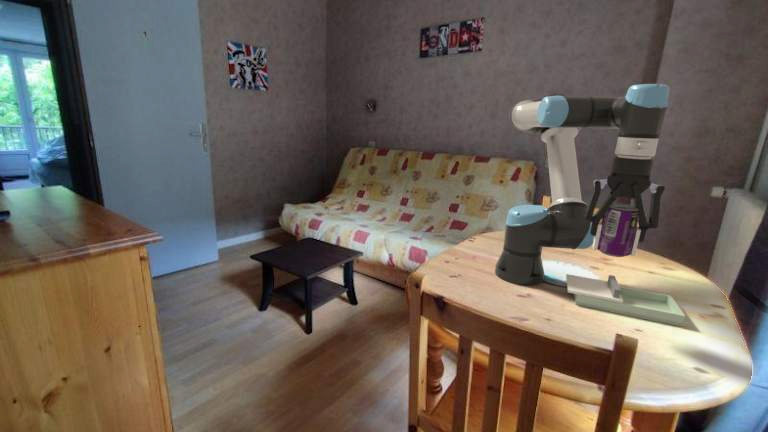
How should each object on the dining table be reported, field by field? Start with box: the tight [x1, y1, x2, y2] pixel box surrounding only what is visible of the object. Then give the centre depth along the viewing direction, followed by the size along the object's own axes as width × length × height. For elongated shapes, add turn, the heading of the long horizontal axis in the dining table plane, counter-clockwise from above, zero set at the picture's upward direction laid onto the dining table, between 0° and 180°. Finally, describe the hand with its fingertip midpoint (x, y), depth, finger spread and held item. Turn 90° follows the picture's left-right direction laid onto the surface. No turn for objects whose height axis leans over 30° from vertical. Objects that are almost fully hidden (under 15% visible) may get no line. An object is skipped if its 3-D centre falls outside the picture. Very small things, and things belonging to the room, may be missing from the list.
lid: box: [565, 273, 623, 303], centre depth 99 cm, size 13×12×3 cm
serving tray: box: [573, 285, 686, 328], centre depth 96 cm, size 24×12×3 cm, turn 65°
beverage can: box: [597, 202, 639, 258], centre depth 83 cm, size 7×7×12 cm
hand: (612, 250), depth 84 cm, fingers closed on beverage can, 7 cm apart
